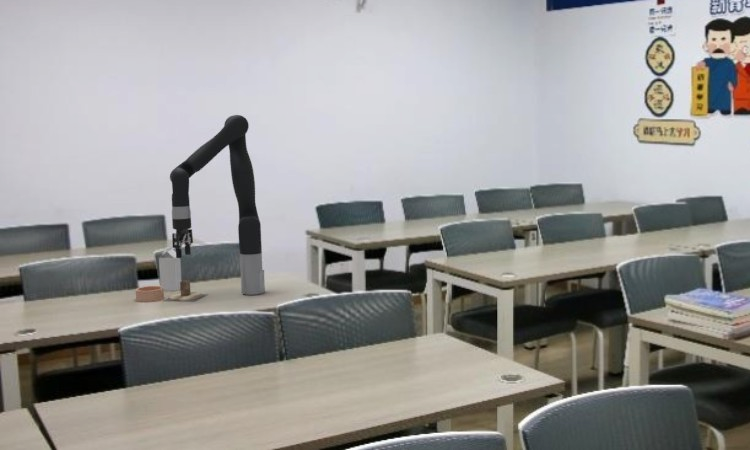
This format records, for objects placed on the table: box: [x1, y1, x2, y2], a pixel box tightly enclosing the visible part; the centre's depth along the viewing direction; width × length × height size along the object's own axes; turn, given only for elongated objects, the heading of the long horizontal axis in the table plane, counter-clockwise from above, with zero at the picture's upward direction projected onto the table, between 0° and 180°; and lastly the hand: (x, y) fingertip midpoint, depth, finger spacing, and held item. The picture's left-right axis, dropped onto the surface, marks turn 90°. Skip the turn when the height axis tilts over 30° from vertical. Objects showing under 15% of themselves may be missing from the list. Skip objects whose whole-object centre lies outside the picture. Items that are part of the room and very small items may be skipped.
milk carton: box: [158, 246, 182, 292], centre depth 359 cm, size 7×7×19 cm
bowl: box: [135, 285, 165, 303], centre depth 340 cm, size 11×11×5 cm
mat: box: [163, 293, 209, 303], centre depth 342 cm, size 14×14×1 cm
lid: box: [169, 279, 203, 302], centre depth 341 cm, size 13×13×7 cm
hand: (183, 256), depth 340 cm, fingers open, 8 cm apart
